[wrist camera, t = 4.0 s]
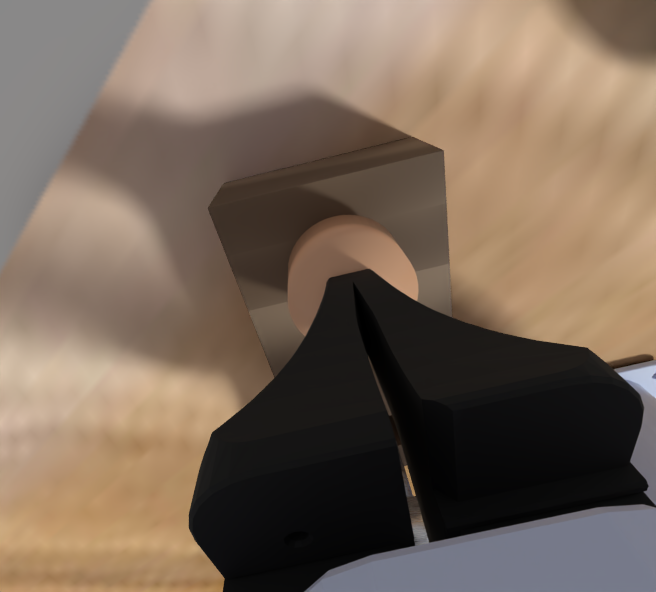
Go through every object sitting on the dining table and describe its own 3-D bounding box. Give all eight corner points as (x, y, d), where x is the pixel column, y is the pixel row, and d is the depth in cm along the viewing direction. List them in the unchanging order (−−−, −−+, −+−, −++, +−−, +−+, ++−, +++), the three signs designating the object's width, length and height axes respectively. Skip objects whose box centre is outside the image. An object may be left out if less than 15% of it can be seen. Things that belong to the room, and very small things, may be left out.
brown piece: (437, 405, 23) (459, 453, 20) (313, 433, 23) (316, 484, 20) (412, 136, 15) (443, 150, 12) (223, 183, 15) (207, 208, 12)
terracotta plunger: (383, 260, 17) (423, 335, 12) (300, 279, 17) (305, 362, 12) (370, 175, 15) (411, 222, 10) (277, 197, 15) (271, 255, 10)
